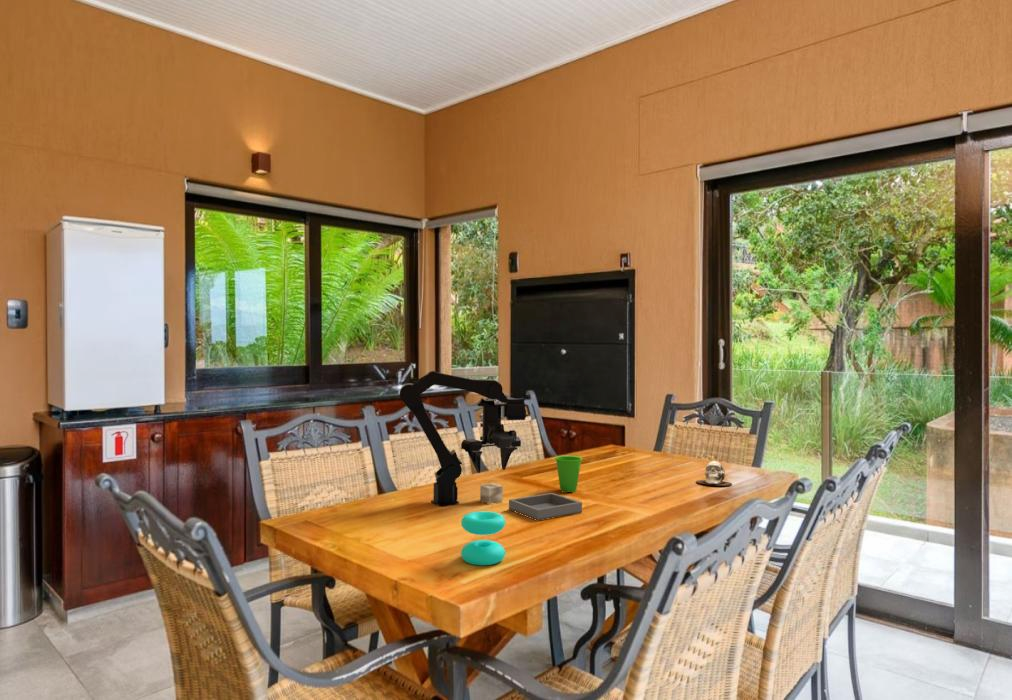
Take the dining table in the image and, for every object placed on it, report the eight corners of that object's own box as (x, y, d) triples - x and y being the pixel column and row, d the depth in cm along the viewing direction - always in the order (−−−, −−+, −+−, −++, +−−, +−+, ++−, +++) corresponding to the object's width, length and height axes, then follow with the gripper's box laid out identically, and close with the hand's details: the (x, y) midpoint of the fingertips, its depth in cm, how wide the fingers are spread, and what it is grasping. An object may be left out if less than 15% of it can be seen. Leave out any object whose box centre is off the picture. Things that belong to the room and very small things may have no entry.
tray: (537, 521, 177) (537, 510, 177) (508, 509, 188) (509, 499, 188) (581, 512, 186) (582, 502, 186) (551, 502, 197) (551, 492, 197)
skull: (731, 486, 217) (710, 462, 220) (708, 503, 221) (688, 479, 224) (738, 478, 227) (718, 455, 230) (715, 495, 231) (696, 472, 234)
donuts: (511, 512, 148) (495, 523, 139) (511, 555, 149) (495, 569, 139) (472, 508, 152) (453, 518, 143) (471, 550, 152) (453, 563, 143)
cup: (587, 491, 213) (587, 457, 213) (570, 495, 206) (571, 461, 206) (565, 486, 219) (566, 454, 219) (549, 491, 212) (549, 457, 212)
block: (488, 504, 195) (489, 488, 195) (480, 501, 199) (480, 485, 199) (502, 502, 197) (502, 486, 197) (493, 499, 202) (493, 483, 201)
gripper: (479, 425, 186) (479, 479, 186) (531, 421, 196) (531, 472, 197) (460, 421, 195) (459, 472, 195) (511, 417, 206) (510, 466, 206)
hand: (491, 471), depth 198 cm, fingers open, 9 cm apart
